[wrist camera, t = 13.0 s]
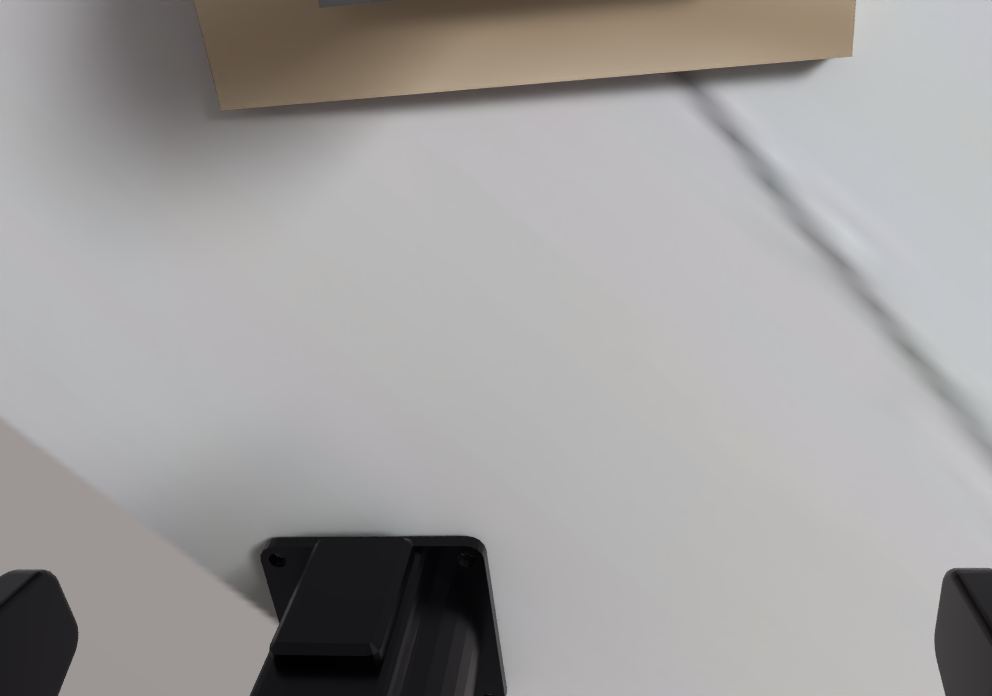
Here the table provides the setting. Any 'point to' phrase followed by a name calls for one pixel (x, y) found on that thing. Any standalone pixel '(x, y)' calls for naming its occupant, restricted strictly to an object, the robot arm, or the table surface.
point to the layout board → (495, 43)
